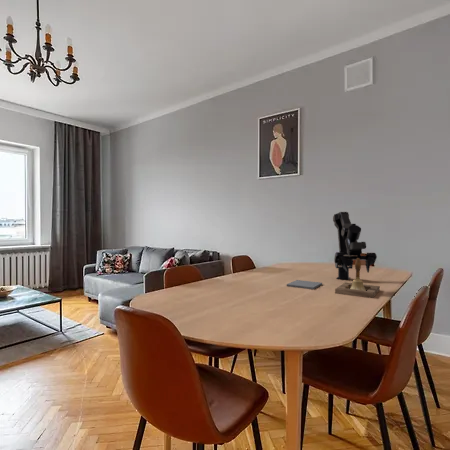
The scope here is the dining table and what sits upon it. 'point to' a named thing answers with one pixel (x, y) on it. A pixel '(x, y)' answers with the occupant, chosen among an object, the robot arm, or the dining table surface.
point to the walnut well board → (345, 290)
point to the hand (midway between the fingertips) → (357, 271)
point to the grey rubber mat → (304, 284)
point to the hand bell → (357, 277)
